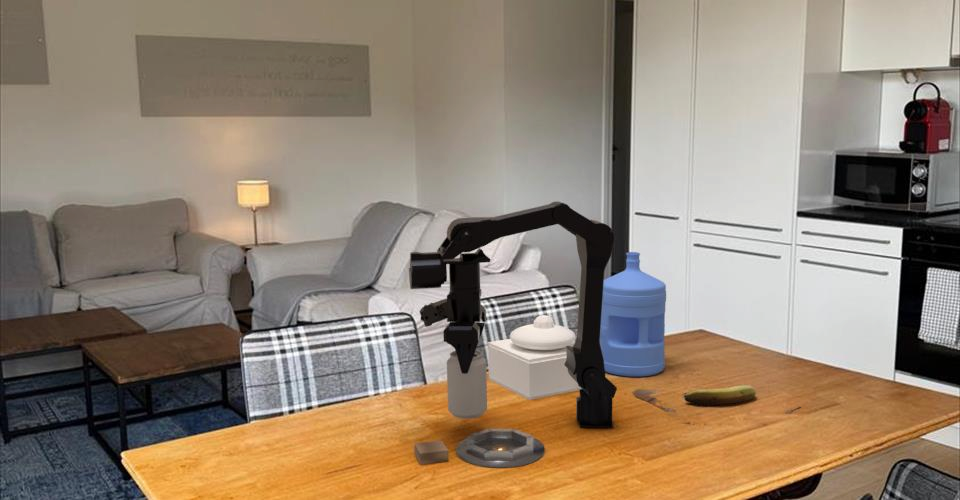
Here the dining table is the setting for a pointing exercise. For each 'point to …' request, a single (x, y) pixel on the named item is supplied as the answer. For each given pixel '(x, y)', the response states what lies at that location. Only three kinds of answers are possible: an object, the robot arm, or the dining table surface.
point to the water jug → (633, 322)
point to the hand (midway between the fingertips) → (467, 367)
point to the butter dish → (533, 360)
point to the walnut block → (431, 452)
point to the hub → (500, 448)
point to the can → (467, 387)
